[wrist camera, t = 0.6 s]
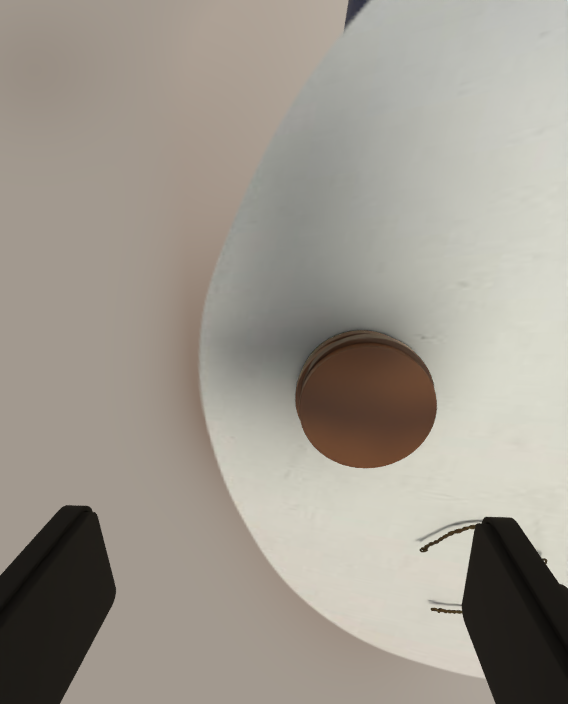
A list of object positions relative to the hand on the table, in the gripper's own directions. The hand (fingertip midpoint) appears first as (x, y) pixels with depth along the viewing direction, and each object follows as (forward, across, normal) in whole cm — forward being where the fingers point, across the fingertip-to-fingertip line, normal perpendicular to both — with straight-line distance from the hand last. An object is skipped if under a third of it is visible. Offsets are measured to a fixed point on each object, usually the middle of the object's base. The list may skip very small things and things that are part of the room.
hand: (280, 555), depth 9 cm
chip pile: (+16, -4, +3) cm, 16 cm away
